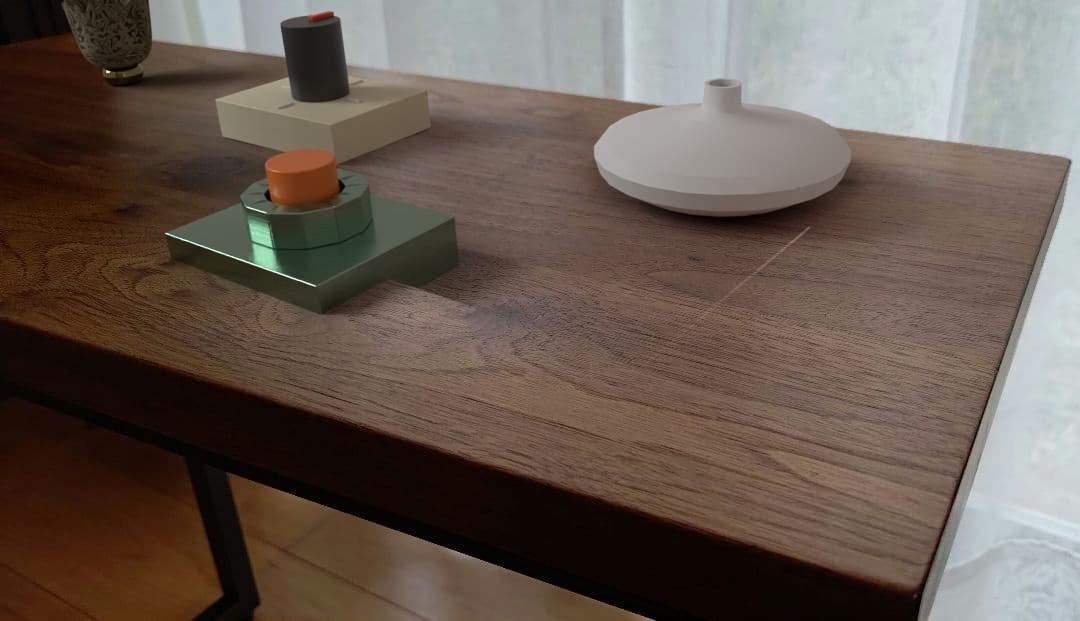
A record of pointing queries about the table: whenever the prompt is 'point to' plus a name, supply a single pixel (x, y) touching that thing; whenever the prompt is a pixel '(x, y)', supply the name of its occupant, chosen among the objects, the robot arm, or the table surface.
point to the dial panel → (325, 118)
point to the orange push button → (302, 177)
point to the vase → (722, 155)
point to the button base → (319, 244)
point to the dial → (315, 57)
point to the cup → (112, 36)
